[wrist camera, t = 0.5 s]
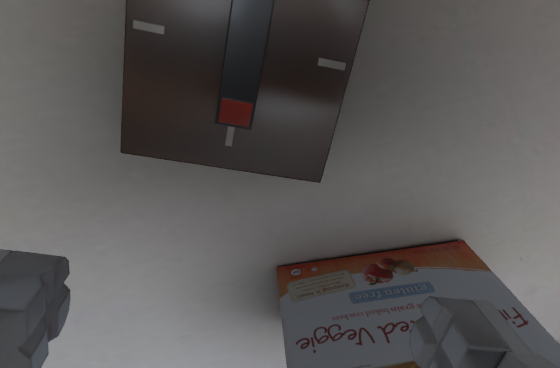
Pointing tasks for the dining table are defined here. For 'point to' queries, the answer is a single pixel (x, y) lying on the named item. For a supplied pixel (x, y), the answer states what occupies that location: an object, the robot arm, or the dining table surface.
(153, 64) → the panel
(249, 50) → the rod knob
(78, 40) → the dining table surface
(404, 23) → the dining table surface
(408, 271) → the cracker box
